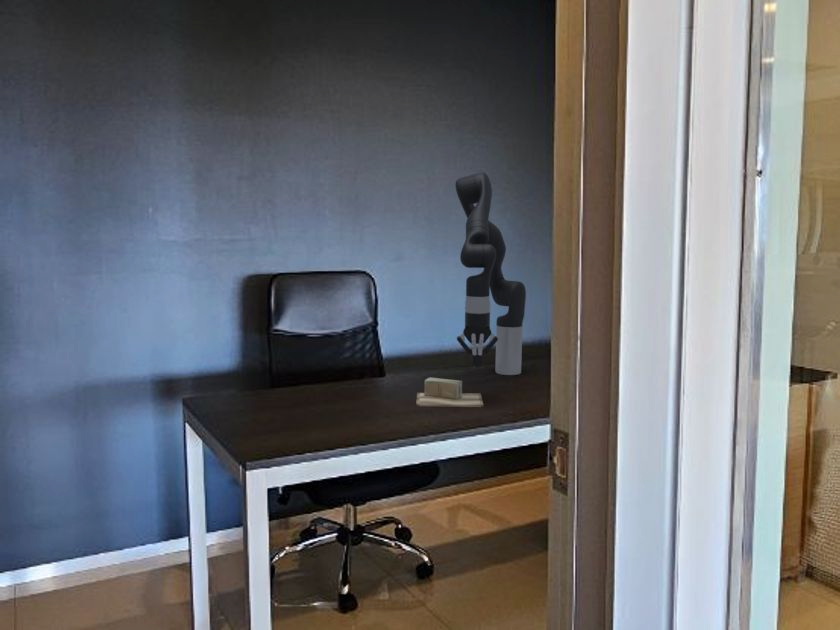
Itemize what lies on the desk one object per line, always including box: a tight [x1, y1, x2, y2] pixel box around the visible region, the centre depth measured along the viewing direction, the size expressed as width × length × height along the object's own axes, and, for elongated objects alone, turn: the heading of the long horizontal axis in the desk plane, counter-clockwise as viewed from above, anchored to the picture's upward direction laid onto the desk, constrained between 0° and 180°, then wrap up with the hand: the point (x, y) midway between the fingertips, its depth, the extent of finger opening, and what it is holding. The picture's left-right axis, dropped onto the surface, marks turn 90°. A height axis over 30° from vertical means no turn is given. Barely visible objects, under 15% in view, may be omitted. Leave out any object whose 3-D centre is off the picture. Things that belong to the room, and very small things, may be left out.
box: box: [423, 377, 463, 399], centre depth 229 cm, size 5×4×11 cm
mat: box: [415, 392, 484, 408], centre depth 226 cm, size 14×20×1 cm
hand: (476, 366), depth 224 cm, fingers closed
